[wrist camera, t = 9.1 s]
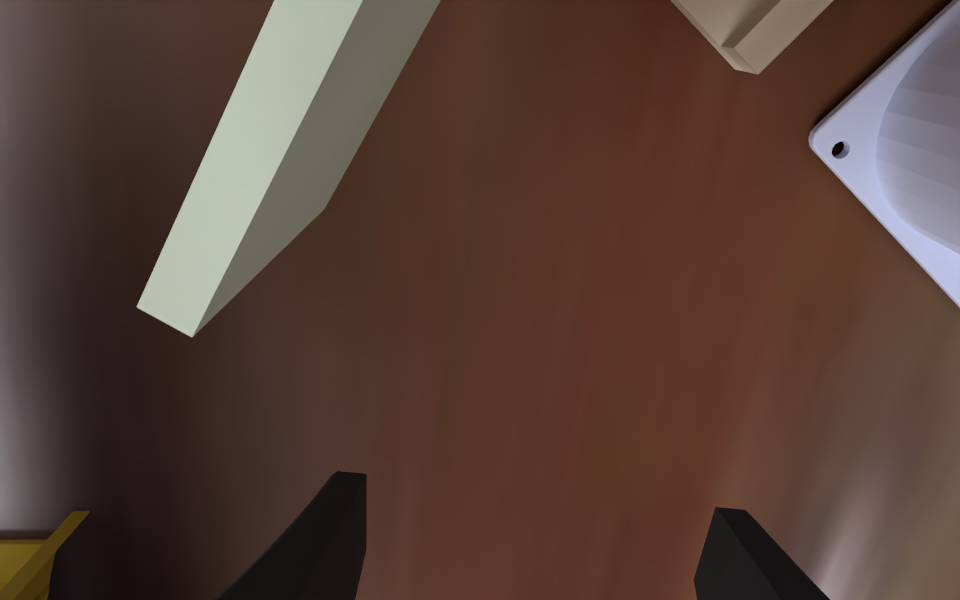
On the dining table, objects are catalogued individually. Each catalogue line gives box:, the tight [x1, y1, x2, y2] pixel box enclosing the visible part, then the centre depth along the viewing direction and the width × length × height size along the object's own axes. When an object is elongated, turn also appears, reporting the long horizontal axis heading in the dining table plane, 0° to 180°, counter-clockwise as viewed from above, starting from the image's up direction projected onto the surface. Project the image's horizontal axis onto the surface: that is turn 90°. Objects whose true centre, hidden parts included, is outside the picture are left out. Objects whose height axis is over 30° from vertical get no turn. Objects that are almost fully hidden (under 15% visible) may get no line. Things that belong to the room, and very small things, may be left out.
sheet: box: [137, 0, 441, 337], centre depth 15 cm, size 1×8×10 cm, turn 147°
